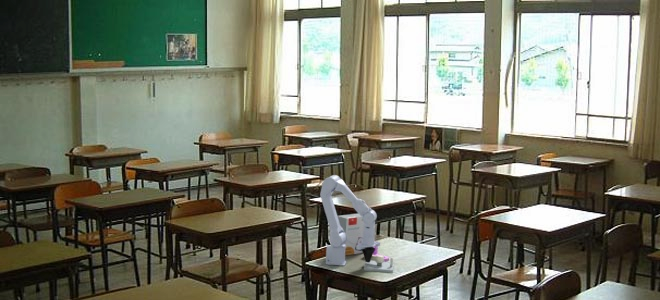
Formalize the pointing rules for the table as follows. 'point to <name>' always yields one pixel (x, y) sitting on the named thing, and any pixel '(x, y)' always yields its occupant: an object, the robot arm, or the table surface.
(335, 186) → the robot arm
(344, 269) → the table surface
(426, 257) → the table surface
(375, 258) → the cream knobbed bar
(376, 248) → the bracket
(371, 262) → the board
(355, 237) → the hard drive box
